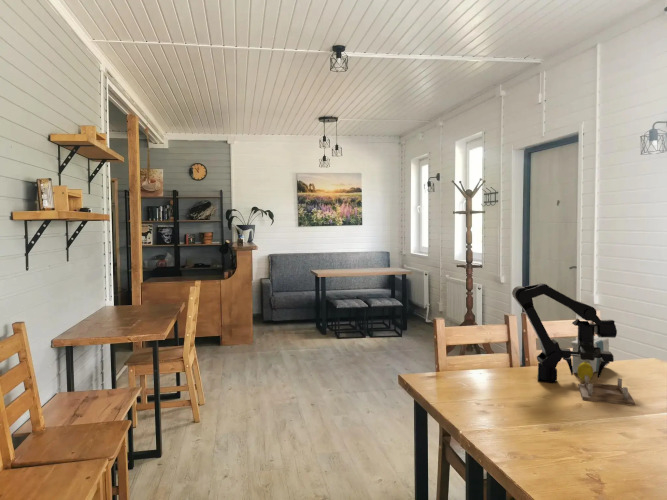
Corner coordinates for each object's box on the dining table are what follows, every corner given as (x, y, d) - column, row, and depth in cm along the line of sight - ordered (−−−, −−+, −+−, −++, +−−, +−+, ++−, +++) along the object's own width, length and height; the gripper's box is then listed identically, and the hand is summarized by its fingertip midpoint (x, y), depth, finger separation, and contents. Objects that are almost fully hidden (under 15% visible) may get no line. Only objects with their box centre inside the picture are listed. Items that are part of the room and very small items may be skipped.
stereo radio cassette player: (589, 377, 204) (590, 328, 203) (569, 373, 210) (570, 325, 209) (609, 367, 218) (610, 321, 217) (589, 364, 224) (590, 319, 224)
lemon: (589, 379, 201) (589, 359, 201) (595, 384, 196) (595, 363, 195) (574, 379, 202) (575, 359, 201) (580, 383, 196) (580, 363, 196)
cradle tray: (582, 399, 178) (583, 385, 178) (578, 386, 193) (578, 373, 193) (635, 405, 173) (635, 390, 172) (626, 391, 188) (626, 377, 187)
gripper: (561, 339, 194) (560, 379, 194) (616, 343, 187) (615, 385, 188) (559, 333, 204) (558, 372, 205) (611, 337, 197) (610, 376, 198)
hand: (585, 376), depth 199 cm, fingers open, 9 cm apart
